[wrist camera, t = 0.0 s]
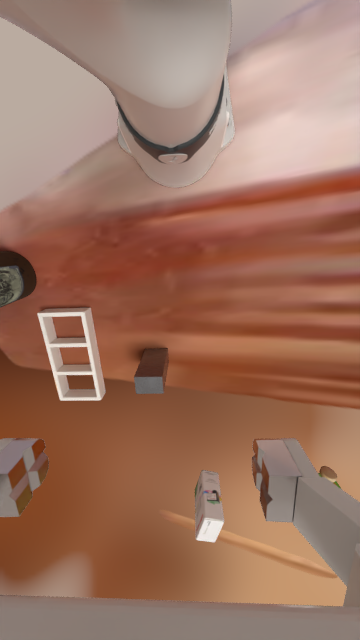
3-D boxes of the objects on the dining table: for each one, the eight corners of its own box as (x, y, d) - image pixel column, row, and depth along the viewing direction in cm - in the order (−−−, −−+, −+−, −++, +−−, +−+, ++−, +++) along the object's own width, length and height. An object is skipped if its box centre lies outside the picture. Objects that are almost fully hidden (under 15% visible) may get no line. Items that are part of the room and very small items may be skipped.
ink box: (210, 492, 66) (215, 544, 55) (194, 489, 66) (195, 541, 55) (218, 472, 63) (225, 522, 52) (201, 469, 63) (204, 518, 52)
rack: (44, 308, 49) (35, 313, 46) (90, 307, 48) (84, 311, 45) (65, 392, 56) (59, 400, 53) (105, 391, 55) (101, 400, 52)
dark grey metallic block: (145, 348, 51) (134, 377, 41) (167, 348, 51) (162, 376, 40) (146, 362, 52) (136, 393, 42) (168, 362, 52) (163, 393, 41)
